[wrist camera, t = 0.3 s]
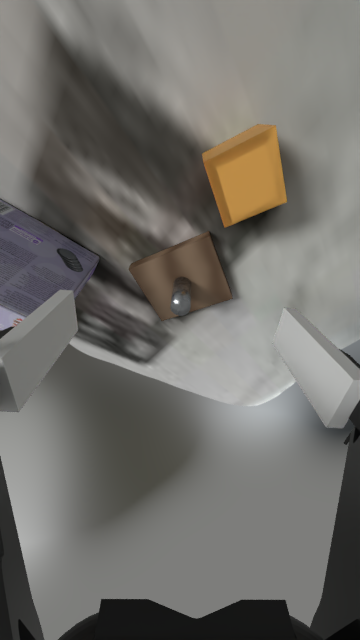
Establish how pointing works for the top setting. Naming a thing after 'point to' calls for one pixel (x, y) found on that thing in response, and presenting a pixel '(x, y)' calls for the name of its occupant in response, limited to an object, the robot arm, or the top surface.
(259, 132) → the orange cube block
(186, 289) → the post
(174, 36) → the top surface
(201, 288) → the base plate
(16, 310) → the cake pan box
